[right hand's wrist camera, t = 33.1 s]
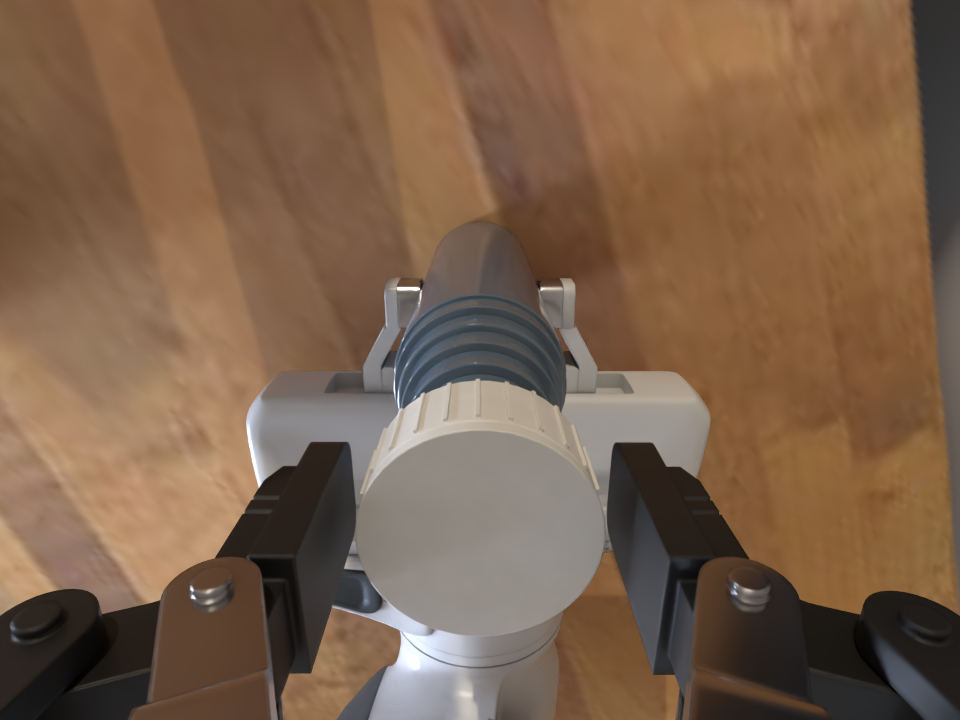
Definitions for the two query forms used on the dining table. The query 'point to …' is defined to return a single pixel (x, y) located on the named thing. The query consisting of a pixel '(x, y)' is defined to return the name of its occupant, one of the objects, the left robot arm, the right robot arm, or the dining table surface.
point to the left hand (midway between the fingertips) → (479, 280)
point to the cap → (480, 511)
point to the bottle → (480, 321)
